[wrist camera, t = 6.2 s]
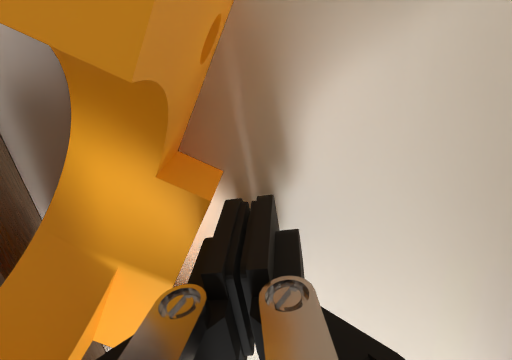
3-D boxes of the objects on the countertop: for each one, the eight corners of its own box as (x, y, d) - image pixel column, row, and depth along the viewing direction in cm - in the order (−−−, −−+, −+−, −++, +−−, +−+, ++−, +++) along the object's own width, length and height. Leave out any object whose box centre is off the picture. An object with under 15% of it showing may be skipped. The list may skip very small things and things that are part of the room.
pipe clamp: (169, 292, 15) (94, 465, 9) (73, 255, 14) (-72, 411, 9) (293, 13, 10) (306, -2, 4) (155, -57, 10) (-45, -182, 4)
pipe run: (82, -227, 8) (-410, -839, 2) (259, 431, 18) (247, 621, 12) (-172, -146, 9) (-950, -437, 3) (128, 434, 19) (60, 610, 13)
